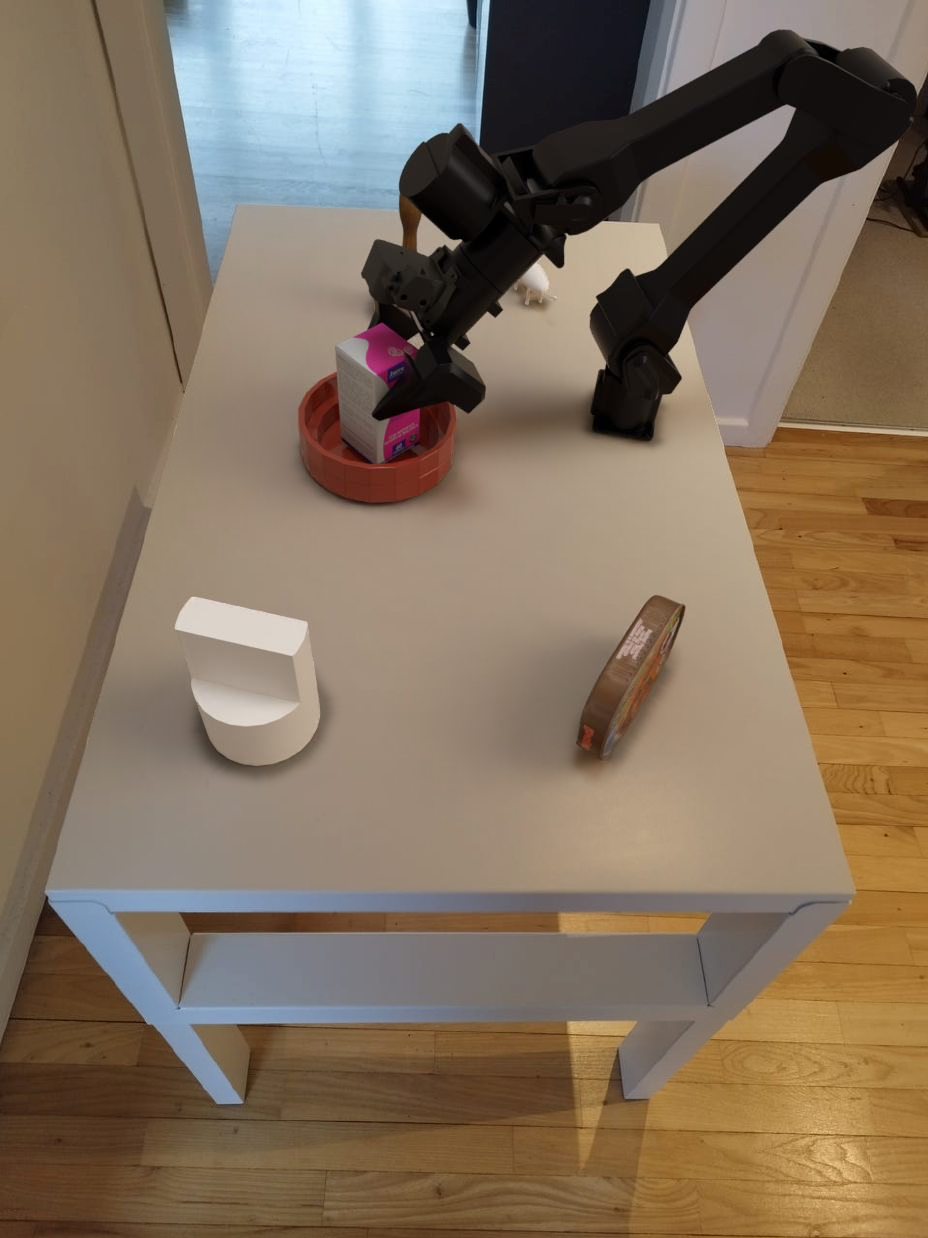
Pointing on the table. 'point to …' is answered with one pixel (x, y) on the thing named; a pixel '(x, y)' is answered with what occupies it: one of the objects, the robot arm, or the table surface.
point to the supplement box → (373, 394)
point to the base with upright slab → (250, 679)
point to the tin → (629, 676)
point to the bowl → (353, 473)
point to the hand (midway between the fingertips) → (364, 392)
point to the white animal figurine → (535, 282)
